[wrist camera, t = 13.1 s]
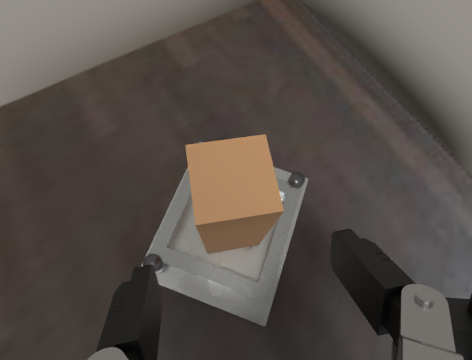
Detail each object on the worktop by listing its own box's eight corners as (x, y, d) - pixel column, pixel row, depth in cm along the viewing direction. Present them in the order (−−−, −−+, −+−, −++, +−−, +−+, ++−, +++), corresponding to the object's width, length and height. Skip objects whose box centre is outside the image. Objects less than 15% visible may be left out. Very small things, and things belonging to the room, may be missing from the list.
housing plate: (263, 325, 21) (269, 330, 18) (139, 275, 22) (129, 273, 19) (305, 182, 25) (314, 170, 23) (200, 145, 26) (198, 130, 24)
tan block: (258, 245, 22) (284, 211, 13) (207, 253, 22) (195, 225, 12) (249, 196, 24) (265, 134, 14) (200, 204, 23) (185, 145, 14)
